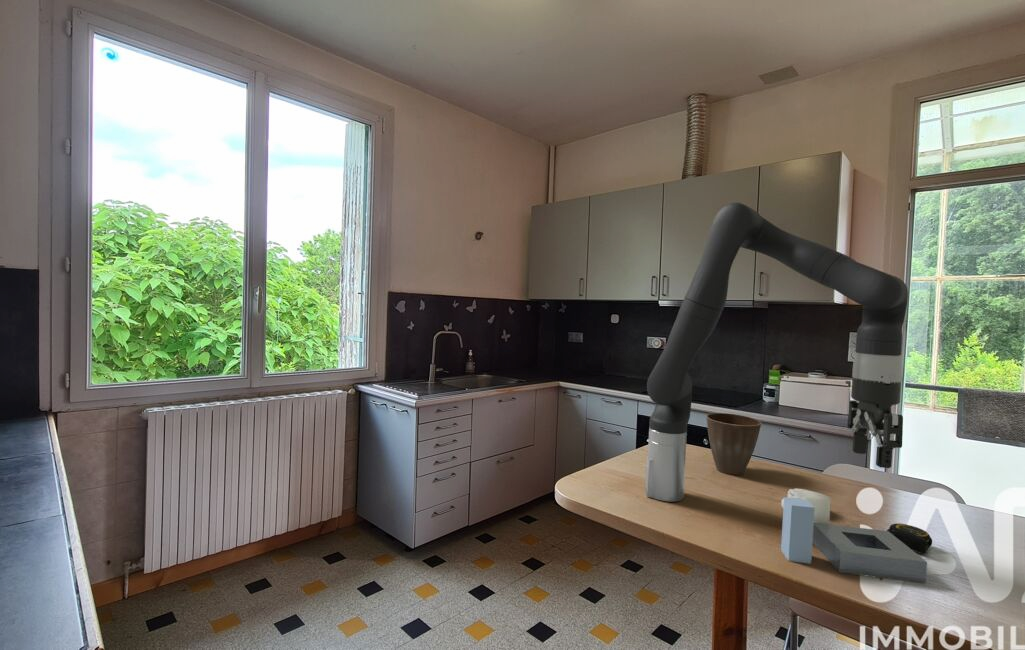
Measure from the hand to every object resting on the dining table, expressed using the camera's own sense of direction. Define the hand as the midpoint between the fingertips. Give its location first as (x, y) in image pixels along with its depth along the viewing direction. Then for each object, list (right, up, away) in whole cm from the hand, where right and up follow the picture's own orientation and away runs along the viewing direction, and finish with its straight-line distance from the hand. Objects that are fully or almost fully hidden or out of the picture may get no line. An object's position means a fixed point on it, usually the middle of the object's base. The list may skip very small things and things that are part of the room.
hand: (870, 459), depth 91 cm
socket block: (-1, -20, +1) cm, 20 cm away
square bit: (-14, -20, +1) cm, 24 cm away
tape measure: (+13, -21, +7) cm, 25 cm away
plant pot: (-4, -18, +50) cm, 54 cm away
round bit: (-3, -20, +13) cm, 23 cm away
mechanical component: (+2, -20, +24) cm, 31 cm away
